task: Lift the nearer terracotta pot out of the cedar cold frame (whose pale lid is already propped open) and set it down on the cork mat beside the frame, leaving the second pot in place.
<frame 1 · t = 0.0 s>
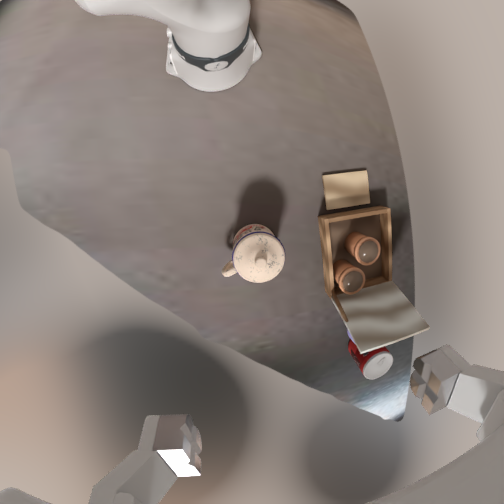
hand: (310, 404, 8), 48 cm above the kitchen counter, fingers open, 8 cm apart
canned food: (360, 341, 66), on the kitchen counter
teacup with lid: (248, 248, 57), on the kitchen counter
cork mat: (346, 189, 55), on the kitchen counter
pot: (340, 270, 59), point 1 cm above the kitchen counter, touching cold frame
cold frame: (354, 248, 59), on the kitchen counter
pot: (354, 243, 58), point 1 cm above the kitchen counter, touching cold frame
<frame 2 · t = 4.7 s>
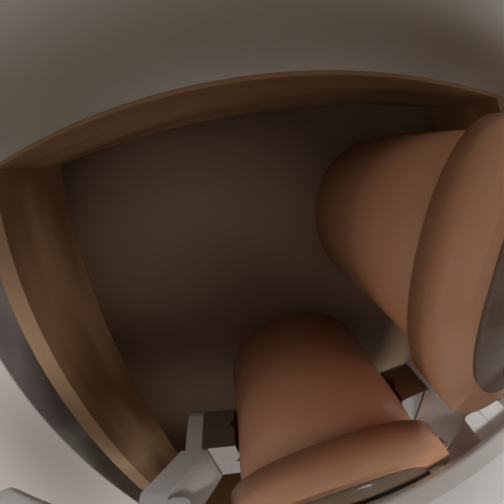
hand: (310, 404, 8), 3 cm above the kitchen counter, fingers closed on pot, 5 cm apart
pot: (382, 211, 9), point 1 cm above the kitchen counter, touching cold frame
cold frame: (290, 328, 10), on the kitchen counter
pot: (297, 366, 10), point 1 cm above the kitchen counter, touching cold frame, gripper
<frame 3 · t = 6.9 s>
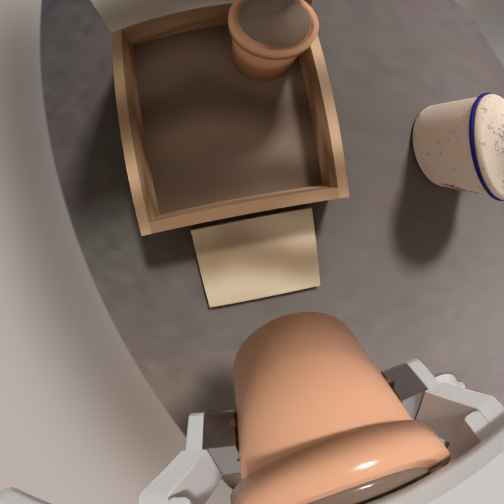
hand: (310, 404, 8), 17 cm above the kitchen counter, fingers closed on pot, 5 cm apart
teacup with lid: (447, 140, 23), on the kitchen counter
cork mat: (258, 257, 24), on the kitchen counter
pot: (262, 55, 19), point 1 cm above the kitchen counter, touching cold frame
cold frame: (224, 105, 20), on the kitchen counter
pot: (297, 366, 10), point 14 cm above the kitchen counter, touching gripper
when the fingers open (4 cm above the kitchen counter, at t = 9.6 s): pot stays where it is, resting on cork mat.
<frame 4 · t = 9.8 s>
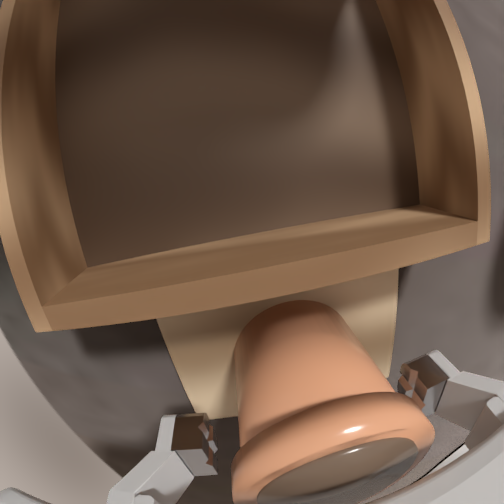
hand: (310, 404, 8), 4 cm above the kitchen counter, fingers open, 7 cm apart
cork mat: (289, 344, 12), on the kitchen counter
cold frame: (222, 33, 8), on the kitchen counter
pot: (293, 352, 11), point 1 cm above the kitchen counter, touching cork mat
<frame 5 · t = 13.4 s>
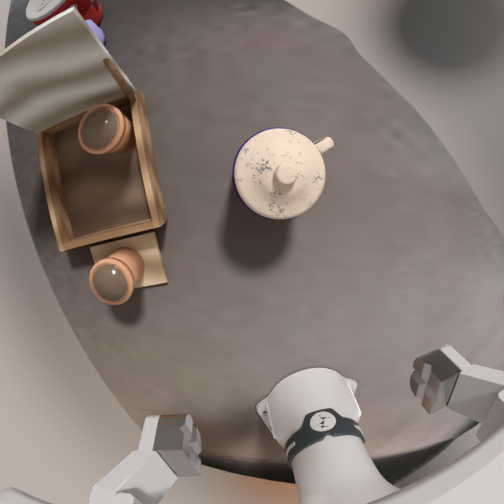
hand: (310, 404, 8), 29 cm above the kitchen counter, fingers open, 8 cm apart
canned food: (82, 24, 25), on the kitchen counter
teacup with lid: (277, 166, 35), on the kitchen counter
cork mat: (128, 263, 36), on the kitchen counter
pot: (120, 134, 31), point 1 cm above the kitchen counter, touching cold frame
cold frame: (102, 171, 32), on the kitchen counter
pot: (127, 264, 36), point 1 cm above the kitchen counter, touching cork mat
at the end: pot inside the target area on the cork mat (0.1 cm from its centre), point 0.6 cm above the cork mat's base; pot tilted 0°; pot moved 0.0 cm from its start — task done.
